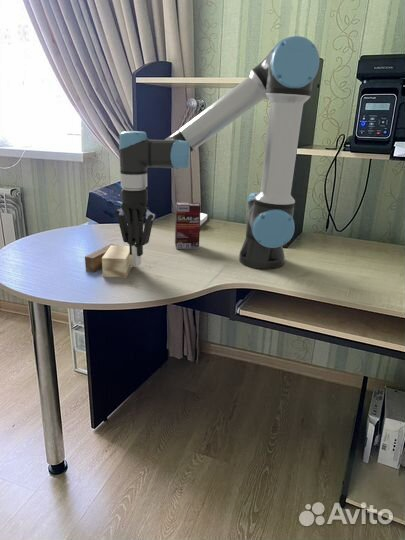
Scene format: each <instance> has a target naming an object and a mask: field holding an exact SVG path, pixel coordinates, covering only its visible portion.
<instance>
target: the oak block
mask: <svg viewBox="0 0 405 540" xmlns="http://www.w3.org/2000/svg"><path fill="white" fill-rule="evenodd" d="M115 245H116V244H115ZM115 245H111V246H110V247H109V249H108V250H107V251H106V253H105V254H104V256H103V257H102V268H101V269H102V277H103V278H104V277H105V278H127V277H128V275H129V274H130V271H131V270H132V267H133V266H132V255H130V247H129V245H119V246H115Z"/></svg>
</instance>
